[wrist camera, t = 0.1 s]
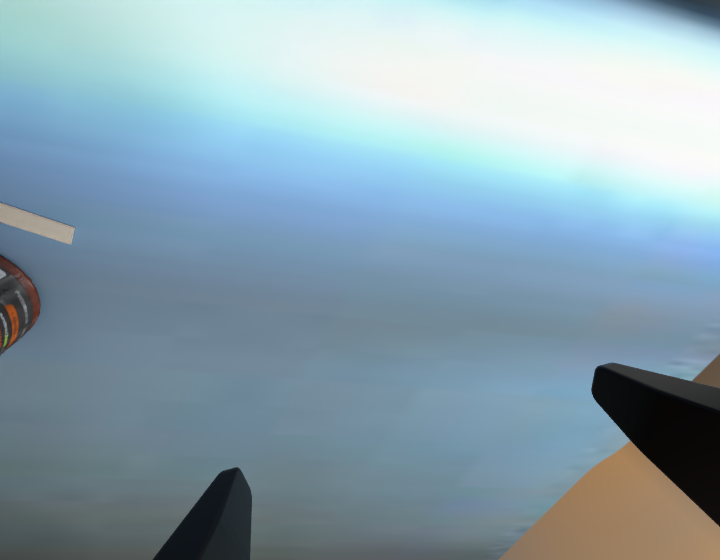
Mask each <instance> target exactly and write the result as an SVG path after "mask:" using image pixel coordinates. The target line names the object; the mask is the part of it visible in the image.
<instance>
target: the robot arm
mask: <svg viewBox="0 0 720 560" xmlns="http://www.w3.org/2000/svg"><path fill="white" fill-rule="evenodd" d="M591 391H592V395H593V397H594V399H595V400H596V402H597V403H598V404H599V405H600V406H601V407H602V409H603V410H604V411H605V412H606V413H607V414H608V415H609V417H610V418H611V419H612V420H613V421H614V422H615V423H616V424H617V426H618V427H619V428H620V429H621V430H622V431H623V432H624V433H625V435H626V436H627V437H628V438H629V439H630V440H631V441H632V442H633V444H635V446H636V447H637V448H638V449H639V450H640V451H641V452H642V453H643V454H644V455H645V456H646V457H647V458H648V459H649V460H650V461H651V462H652V463H653V464H655V465H656V466H657V467H658V468H659V469H660V470H661V471H662V472H663V473H664V474H665V475H666V476H667V477H668V478H669V479H670V480H671V481H672V482H673V483H674V484H675V485H676V486H678V487H679V488H680V489H681V490H682V491H683V492H684V493H685V494H686V495H687V496H688V497H689V498H690V499H691V500H692V501H693V502H694V503H695V504H696V505H698V506H699V507H700V508H701V509H702V510H703V511H704V512H705V513H706V514H707V515H708V516H709V517H710V518H711V519H712V520H714V522H715V523H716V524H717V525H719V526H720V388H717V387H713V386H709V385H705V384H700V383H696V382H692V381H688V380H684V379H680V378H676V377H671V376H667V375H663V374H659V373H655V372H651V371H646V370H642V369H638V368H634V367H630V366H626V365H621V364H617V363H608V364H604V365H600V366H598V367H597V368H596V369H595V373H594V378H593V383H592V389H591ZM251 512H252V495H251V490H250V487H249V485H248V483H247V481H246V479H245V477H244V475H243V473H242V471H241V470H240V469H239V468H238V467H235V468H232V469H228V470H225V471H222V472H220V473H219V474H218V476H217V477H216V478H215V479H214V481H213V482H212V483H211V485H210V486H209V487H208V489H207V490H206V491H205V492H204V494H203V495H202V496H201V498H200V499H199V500H198V501H197V503H196V504H195V505H194V507H193V508H192V509H191V511H190V512H189V513H188V514H187V516H186V517H185V518H184V520H183V521H182V522H181V523H180V525H179V526H178V527H177V529H176V530H175V531H174V533H173V534H172V535H171V536H170V538H169V539H168V540H167V542H166V543H165V544H164V545H163V547H162V548H161V549H160V551H159V552H158V553H157V555H156V556H155V557H154V558H153V560H250V542H251Z"/></svg>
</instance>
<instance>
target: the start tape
mask: <svg viewBox="0 0 720 560" xmlns="http://www.w3.org/2000/svg"><path fill="white" fill-rule="evenodd" d="M0 222H1V223H5V224H8V225H11V226H14V227H17V228H20V229H23V230H26V231H29V232H33V233H36V234H39V235H42V236H45V237H48V238H51V239H54V240H58V241H61V242H64V243H67V244H70V245H71V244H72V239H73V234H74V230H75V227H72V226H69V225H66V224H63V223H60V222H57V221H54V220H51V219H48V218H45V217H42V216H39V215H36V214H33V213H30V212H27V211H24V210H21V209H18V208H16V207H13V206H10V205H7V204H4V203H1V202H0Z"/></svg>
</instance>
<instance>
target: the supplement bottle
mask: <svg viewBox="0 0 720 560" xmlns="http://www.w3.org/2000/svg"><path fill="white" fill-rule="evenodd" d="M39 314H40V299H39V295H38V292H37V290H36V287H35V285H34V284H33V283H32V280H31V279H30V278H29V277H28V276H27V275H26V274H25V273H24V272H23V271H22V270H21V269H20V268H19V267H17V266H16V265H14V264H13V263H12V262H10V261H9V260H7V259H6V258H3V257H1V256H0V355H1V354H2V353H3V352H5V351H6V350H7V349H8V348H9V347H11V346H12V345H13V344H14V343H16V342H17V341H18V340H19V339H20V338H22V337H23V336H24V335H25V334H26V332H27V331H29V330H30V329H31V327H32V326H33V325H34V324H35V322H36V321H37V318H38V316H39Z"/></svg>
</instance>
